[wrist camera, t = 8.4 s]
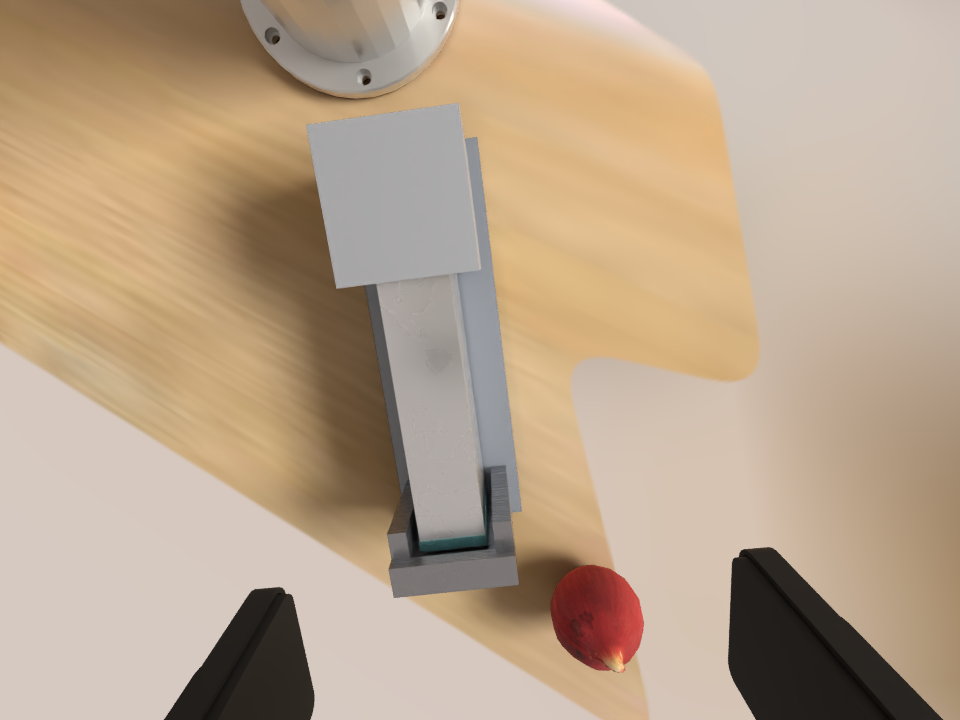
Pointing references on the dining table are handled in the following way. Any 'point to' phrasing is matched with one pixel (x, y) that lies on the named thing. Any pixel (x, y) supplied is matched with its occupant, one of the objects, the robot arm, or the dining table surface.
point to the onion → (597, 617)
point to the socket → (454, 550)
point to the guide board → (477, 359)
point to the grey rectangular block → (436, 409)
